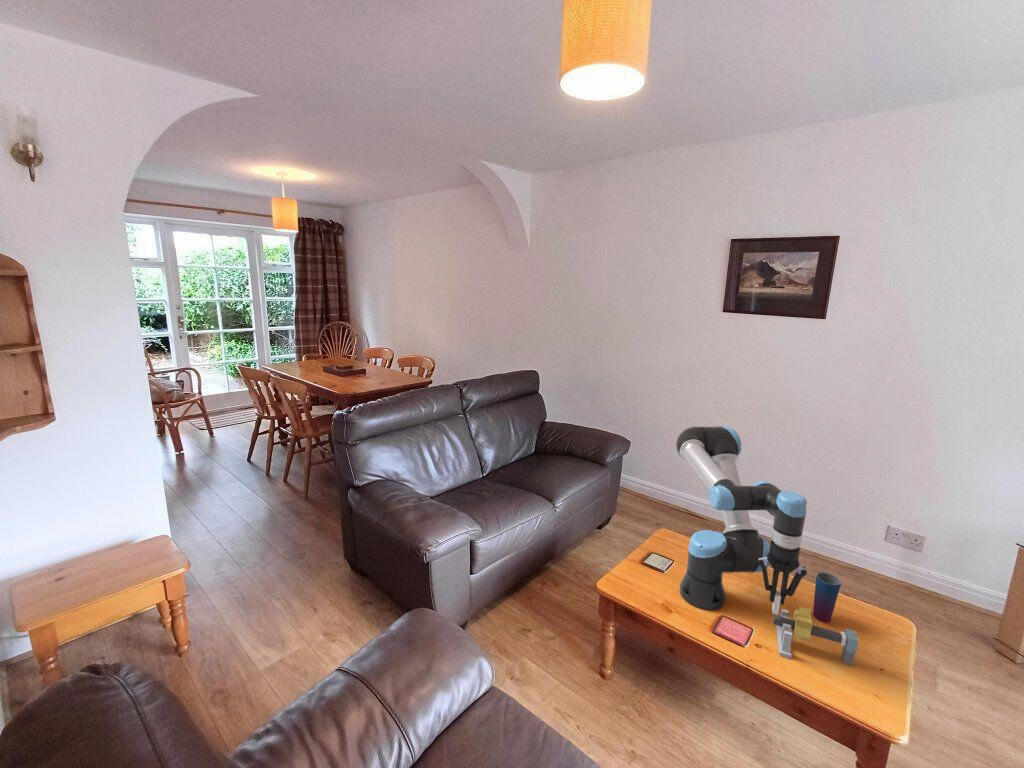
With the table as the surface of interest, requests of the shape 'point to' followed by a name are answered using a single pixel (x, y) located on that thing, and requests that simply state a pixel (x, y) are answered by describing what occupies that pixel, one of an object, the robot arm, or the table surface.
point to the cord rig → (785, 635)
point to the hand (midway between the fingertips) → (775, 611)
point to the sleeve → (802, 624)
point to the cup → (825, 596)
